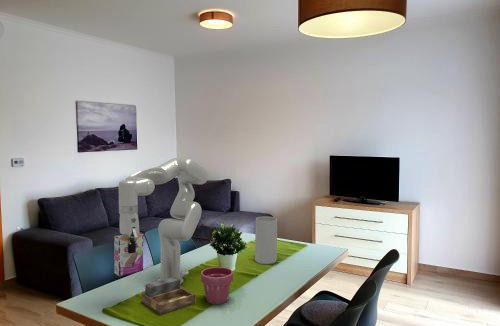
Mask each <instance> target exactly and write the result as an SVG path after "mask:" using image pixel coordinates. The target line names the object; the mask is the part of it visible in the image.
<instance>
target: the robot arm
mask: <svg viewBox="0 0 500 326" xmlns="http://www.w3.org/2000/svg"><path fill="white" fill-rule="evenodd" d="M176 177H177V182H178V192H177V195H176V196H175V199H174V201H173V203H172V204H171V208H170V210H169V213H170V216H171V217H172V218H164V219H162V220H161V221H160V222H159V224H158V229H157V230H158V235H159V242H160V277H158V279H157V281H160V280H164V279H168V278H172V277H176V278H178V279H180V285H181V284H183V283H184V277H186V276H189V270H186V271H184V270H181V244H180V241H182V242H187V241H189V240H190V239H191V238H192V237H193V235H194V233H195V231H196V228H197V226H198V224H199V221H200V219H201V217H202V207H201V204H200V203H199V202H197V201H194V199H195V197H196V196H195V195H196V194H195V189H194V188H193V187H194V186H193V185H203V184H206V183H207V181H208V180H209V173H208V170H207V169H206V168H205V167H204V166H203V165H201V163H198V162H197V161H196V160H194V159H192V158H189V157H188V158H186V157H185V158H184V157H173V158H171V159H169V160H167V161H165V162H164V163H161V164H160V165H157V166H155V167H150V168H147V169H143V170H140V171H137V172H134V173H132V174H131V175H129V176H127V177H126V178H125V179H123V180H120V181H119V182H118V214H119V233H120V235H124V236H127V237H128V241H129V244H128V253H129V254H131V253H135V252H136V240H137V239H138V236H139V233H140V223H139V222H140V221H139V214H138V212H139V211H138V209H139V208H138V207H139V206H138V196H139V197H140V196H142V197H144V196H149V195H151V194H152V193H153V192H154V191H155V189H156V188H155V185H163V184H165V183H168V182H170V181H171V180H172V179H175V178H176ZM131 235H133V236H131ZM130 236H131V237H130ZM131 238H133V239H132V240H131ZM157 281H156V282H157Z"/></svg>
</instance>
